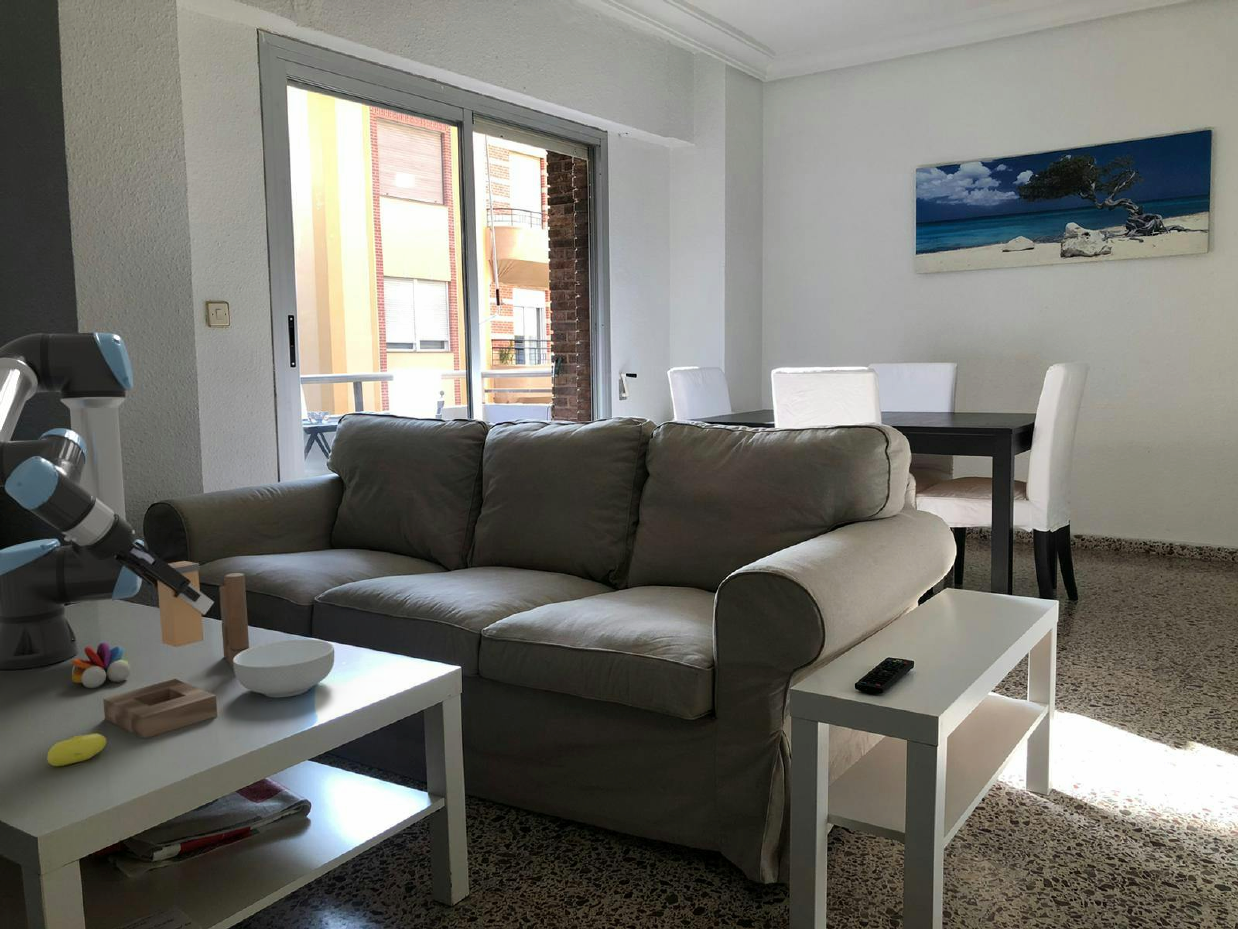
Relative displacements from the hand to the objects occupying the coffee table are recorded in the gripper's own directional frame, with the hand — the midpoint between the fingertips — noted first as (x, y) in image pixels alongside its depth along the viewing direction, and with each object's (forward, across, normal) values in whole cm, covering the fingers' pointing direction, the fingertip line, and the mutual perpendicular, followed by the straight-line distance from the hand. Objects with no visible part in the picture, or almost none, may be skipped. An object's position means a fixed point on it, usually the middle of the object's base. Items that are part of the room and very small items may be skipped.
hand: (200, 605), depth 175 cm
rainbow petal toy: (+2, -16, -18) cm, 25 cm away
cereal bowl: (+15, +16, -6) cm, 23 cm away
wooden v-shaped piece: (+17, -6, -3) cm, 18 cm away
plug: (+1, 0, -7) cm, 7 cm away
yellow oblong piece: (-10, +19, -31) cm, 38 cm away
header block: (+1, +12, -20) cm, 23 cm away
